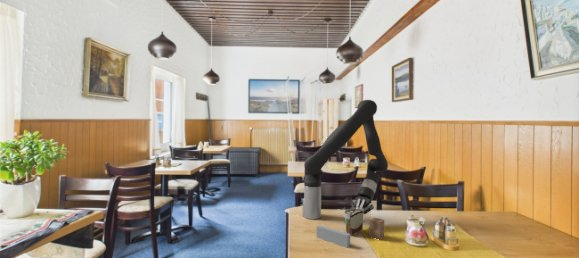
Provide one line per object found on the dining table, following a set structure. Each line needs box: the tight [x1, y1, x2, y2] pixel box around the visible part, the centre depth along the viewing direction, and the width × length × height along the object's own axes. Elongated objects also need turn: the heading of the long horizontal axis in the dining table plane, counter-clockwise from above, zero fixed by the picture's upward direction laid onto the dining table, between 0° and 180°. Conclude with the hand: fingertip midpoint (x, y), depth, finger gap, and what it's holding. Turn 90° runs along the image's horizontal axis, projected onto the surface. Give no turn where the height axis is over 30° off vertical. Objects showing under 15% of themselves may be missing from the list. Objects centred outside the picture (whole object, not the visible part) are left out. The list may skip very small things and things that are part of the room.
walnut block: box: [368, 217, 385, 241], centre depth 135 cm, size 5×5×8 cm
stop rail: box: [316, 224, 351, 248], centre depth 130 cm, size 16×2×5 cm, turn 48°
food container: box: [343, 207, 364, 237], centre depth 141 cm, size 12×6×10 cm, turn 134°
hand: (355, 219), depth 144 cm, fingers closed
